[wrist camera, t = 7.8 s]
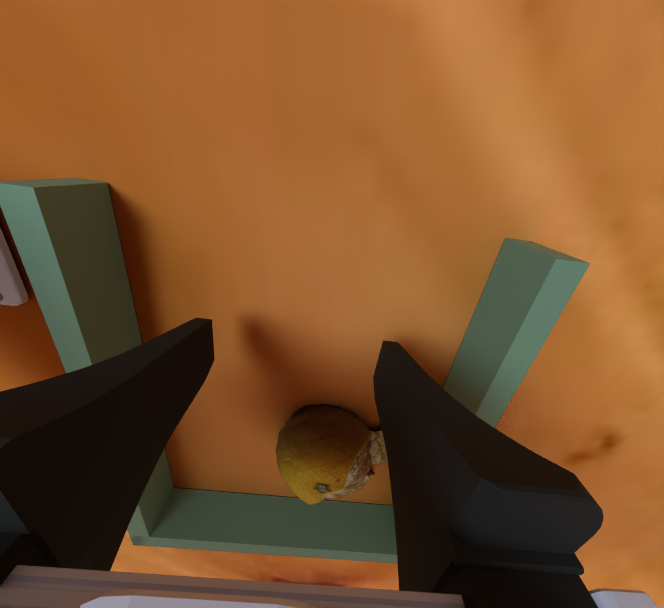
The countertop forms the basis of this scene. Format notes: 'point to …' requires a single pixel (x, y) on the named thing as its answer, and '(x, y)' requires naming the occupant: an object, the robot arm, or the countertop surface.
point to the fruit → (327, 452)
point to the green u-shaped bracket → (123, 334)
